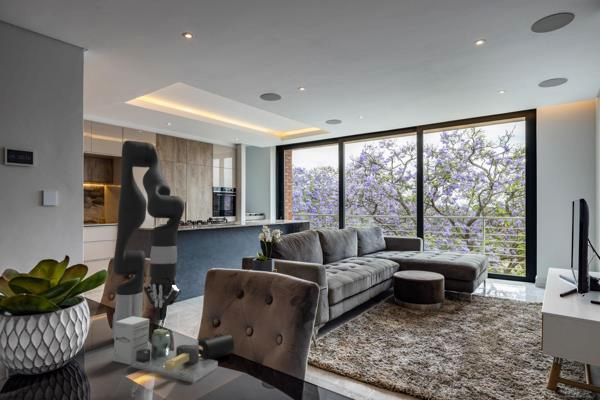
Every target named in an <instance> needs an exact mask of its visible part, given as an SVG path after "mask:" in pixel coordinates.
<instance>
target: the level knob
mask: <svg viewBox="0 0 600 400" xmlns="http://www.w3.org/2000/svg"><path fill="white" fill-rule="evenodd" d="M187 345H188V344H187ZM199 349H200V346H199V345H198V344H189V345H188V346H186V347H184V353H183V354H181V355H179V356H177V357H175V358H173V359H171V360H168V361H166V362H165V370H166V371H171V370H173V369H174V368H176V367H178V366H180V365H181V364H183V363H186V364H192V363H196V362H198V360H199V356H200V354H199Z"/></svg>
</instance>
